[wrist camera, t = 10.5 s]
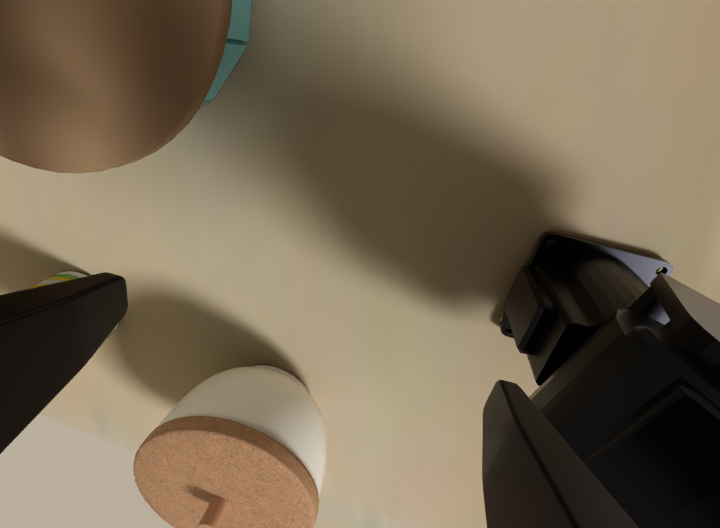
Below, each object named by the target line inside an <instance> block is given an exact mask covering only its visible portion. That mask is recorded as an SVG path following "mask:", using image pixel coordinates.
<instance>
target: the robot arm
mask: <svg viewBox="0 0 720 528" xmlns="http://www.w3.org/2000/svg"><path fill="white" fill-rule="evenodd" d="M549 239H555V242H554V243H553V244H551V245H547V244H546V242H547V241H548V240H549ZM660 267H663V269H662V270H661V271H659V272H656V270H657V269H658V268H660ZM672 272H673V267H672V265H671V264H670V263H669V262H667V261H666V260H664V259H661V258H657V257H653V256H649V255H645V254H641V253H637V252H633V251H629V250H625V249H621V248H617V247H613V246H609V245H605V244H601V243H597V242H593V241H589V240H585V239H581V238H577V237H573V236H569V235H566V234H562V233H558V232H553V231H549V232H545V233H544V234H542V236H541V237H540V238H539V241H538V243H537V245H536V247H535V249H534V251H533V254H532V256H531V258H530V260H529V262H528V264H527V265H525V266H523V267H521V268H520V270H519V273H518V275H517V277H516V279H515V281H514V284H513V286H512V288H511V290H510V292H509V295H508V297H507V299H506V301H505V303H504V306H505V310H506V312H505V314H504V316H503V318H502V321H501V323H500V329H501V332H502V334H503V335H505V336H508V337H511V338H514V339H515V343H516V346H517V348H518V350H519V352H520V353H523V354H527V357H528V360H529V363H530V366H531V369H532V372H533V375H534V378H535V381H536V383H537V385H539V386H540V387H539V388H538V389H537V390H536V391H535V392H534V393H533V394H532V395H531V396H530V397H528V396H527V395H526V394H525V393H524V391H523V390H522V389H521V388H520V387H519V386H518V385H517V384H515V383H512V382H508V381H504V380H499V381H497V382H496V384H495V385H494V387H493V389H492V391H491V393H490V395H489V397H488V399H487V401H486V403H485V406H484V410H483V454H482V479H483V492H484V502H485V512H486V521H487V528H720V304H719V303H717V302H715V301H713V300H711V299H710V298H708V297H706V296H704V295H702V294H700V293H699V292H697V291H695V290H693V289H691V288H689V287H687V286H686V285H684V284H682V283H680V282H678V281H676V280H675V279H673V278H671V277H670V276H671V274H672ZM127 308H128V299H127V288H126V281H125V279H124V278H123V277H122V276H119V275H116V274H112V273H107V272H105V273H100V274H95V275H91V276H86V277H81V278H77V279H72V280H68V281H63V282H58V283H54V284H49V285H45V286H40V287H35V288H31V289H26V290H22V291H17V292H12V293H8V294H3V295H0V454H1V453H2V452H3V451H4V449H5V448H6V447H7V446H8V445H9V444H10V443H11V442H12V441H13V440H14V439H15V438H16V437H17V436H18V435H19V434H20V433H21V432H22V431H23V430H24V429H25V428H26V427H27V425H28V424H29V423H30V422H31V421H32V420H33V419H34V418H35V417H36V416H37V415H38V414H39V413H40V412H41V411H42V410H43V409H44V408H45V407H46V406H47V405H48V404H49V403H50V401H51V400H52V399H53V398H54V397H55V396H56V395H57V394H58V393H59V392H60V391H61V390H62V389H63V388H64V387H65V386H66V385H67V384H68V383H69V382H70V381H71V380H72V379H73V377H74V376H75V375H76V374H77V373H78V372H79V371H80V370H81V369H82V368H83V367H84V366H85V364H86V363H87V362H88V361H89V360H90V358H91V357H92V356H93V355H94V353H95V352H96V351H97V350H98V348H99V347H100V346H101V344H102V343H103V342H104V341H105V339H106V338H107V337H108V336H109V334H110V333H111V332H112V330H113V329H114V328H115V327H116V325H117V324H118V323H119V322H120V320H121V319H122V318H123V316H124V315H125V313H126V311H127ZM507 326H511V329H506V327H507Z"/></svg>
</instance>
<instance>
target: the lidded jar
mask: <svg viewBox="0 0 720 528" xmlns="http://www.w3.org/2000/svg"><path fill="white" fill-rule="evenodd" d="M326 458H327V437H326V430H325V424H324V421H323V418H322V415H321V413H320V410H319V408H318V406H317V404H316V402H315V401H314V400H313V398H312V397H311V396H310V394H309V392H308V390H307V388H306V387H305V386H304V384H303V383H302V382H301V381H300V380H299V379H298V378H296V377H295V376H294V375H292V374H291V373H289V372H287V371H285V370H283V369H280V368H277V367H274V366H269V365H254V366H250V367H238V368H233V369H229V370H226V371H223V372H220V373H218V374H215V375H213V376H212V377H210V378H208V379H206V380H205V381H203V382H201V383H200V384H199V385H197V386H196V387H195V388H194V389H192V390H191V391H190V392H189V393H188V394H187V395H186V396H185V397H184V398H183V399H182V400H181V401H180V402H179V403H178V404H177V405H176V406H175V407H174V408H173V409H172V410H171V411H170V412H169V413H168V415H167V416H166V417H165V418H164V419H163V421H162V422H161V423H160V425H159V426H158V427H157V428H156V429H155V430H154V431H153V432H151V433H150V434H149V436H148V437H147V438H146V439H145V440H144V442H143V443H142V444H141V446H140V447H139V449H138V451H137V453H136V455H135V460H134V476H135V481H136V484H137V486H138V488H139V491H140V493H141V494H142V495H143V497H144V499H145V501H146V502H147V503H148V504H149V505H150V507H151V508H152V509H153V510H154V511H155V512H156V513H157V514H158V515H159V516H160V517H161V518H162V519H164V520H165V521H166V522H167V523H169V524H170V525H171V526H173V527H175V528H313V527H314V524H315V520H316V517H317V513H318V506H319V497H320V494H321V490H322V485H323V480H324V475H325V467H326Z"/></svg>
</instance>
